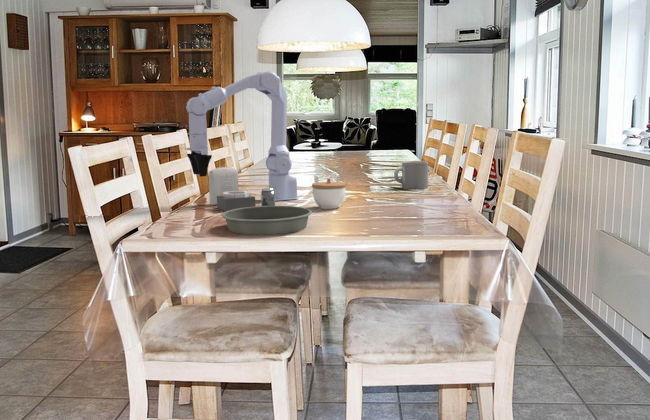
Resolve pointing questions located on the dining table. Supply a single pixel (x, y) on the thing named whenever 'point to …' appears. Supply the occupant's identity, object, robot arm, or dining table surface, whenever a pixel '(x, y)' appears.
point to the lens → (268, 197)
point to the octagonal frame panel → (235, 200)
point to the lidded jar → (329, 194)
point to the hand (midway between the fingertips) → (199, 175)
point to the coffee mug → (413, 174)
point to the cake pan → (267, 219)
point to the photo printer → (222, 182)
